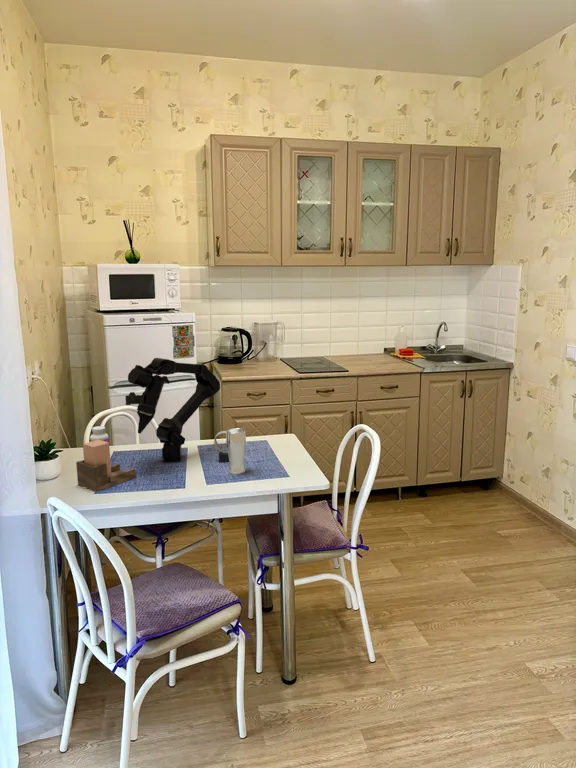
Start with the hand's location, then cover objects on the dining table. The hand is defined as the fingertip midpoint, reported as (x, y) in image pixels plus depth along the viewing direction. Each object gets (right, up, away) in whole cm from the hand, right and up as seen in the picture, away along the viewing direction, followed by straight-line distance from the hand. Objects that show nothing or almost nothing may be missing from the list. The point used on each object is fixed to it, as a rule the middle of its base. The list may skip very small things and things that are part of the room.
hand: (139, 433), depth 208 cm
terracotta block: (-11, -15, -12) cm, 22 cm away
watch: (+30, -11, +12) cm, 34 cm away
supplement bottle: (-18, -12, +13) cm, 25 cm away
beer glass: (+35, -14, -1) cm, 37 cm away
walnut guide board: (-8, -16, -9) cm, 20 cm away
